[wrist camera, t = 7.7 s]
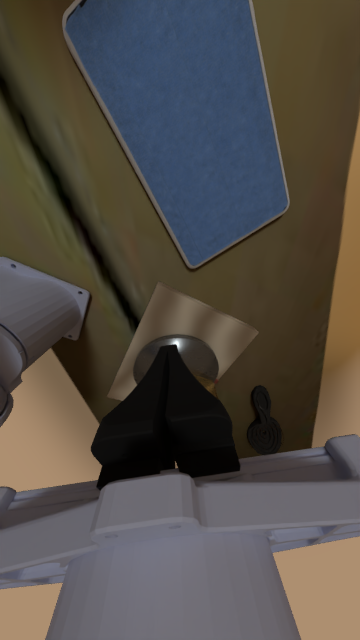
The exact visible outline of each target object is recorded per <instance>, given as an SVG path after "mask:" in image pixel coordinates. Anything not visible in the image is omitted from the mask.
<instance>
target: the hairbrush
mask: <svg viewBox="0 0 360 640" xmlns="http://www.w3.org/2000/svg"><path fill="white" fill-rule="evenodd" d="M263 393H264V394H263ZM264 395H265V396H264ZM252 398H253V403H254V405H255V407H256V409H257V411H258V413H259V417H260V420H256V421H254V422H252V423H251V424H252V425H251V424H250V425H251V426H249V428H248V431H247V436H248V439H249V442H250V444H251V445H252V447H253V448H254V449H255V450H256V451H257V453H259V454H262V455H270V454H277V453H276V452H277V451H278V450H279V448H280V444H282V443H281V432H282V430H281V428H280V425H279V424H278V422H277V421H276V420H274V418H271V417H270V408H271V400H270V397H269V394H268V391H267V390H266V388H264V387H263V386H261V385H259V386H256V387H255V388H254V391H253V390H252ZM256 400H257V401H256ZM257 403H258V404H257ZM258 405H259V406H258ZM259 407H260V408H261V409H260V408H259ZM261 410H262V411H263V412H264V414H265V416H264V414H263V412H262V411H261ZM270 418H271V419H270ZM274 424H275V425H276V427H275V425H274ZM270 426H271V427H272V429H271V427H270ZM267 428H268V429H267ZM263 430H265V432H262V431H263ZM268 430H269V431H268ZM259 432H260V433H259ZM263 433H264V434H263ZM256 434H257V436H256ZM282 434H283V433H282ZM252 436H253V437H252ZM253 438H254V439H253ZM283 439H284V438H283ZM283 441H284V440H283ZM283 443H284V442H283ZM282 445H283V444H282ZM262 455H261V456H262Z"/></svg>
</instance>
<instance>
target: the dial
mask: <svg viewBox="0 0 360 640" xmlns="http://www.w3.org/2000/svg"><path fill="white" fill-rule="evenodd" d="M172 344H176V345H177V348H178V351H179V354H180V356H181V358H182V359H183V361H184V363H185V364H186V366H187V368H188V369H189V370H190V372H191V373H192V374H193V375H194V377H195V378H196V379H197V380H198V381H199V382H200V383H201V384H202V385H203V386H204V387H205V388H206V389H207V390H208V391H209V392H210V393H211V394H212V395H214V396H215V397H216V398H217V399H218V396H217V393H216V390H215V387H214V382H215V380H216V378H217V376H218V371H219V364H218V360H217V358H216V355H215V353H214V351H213V350H212V348H211V347H210V346H209V345H208V344H207V343H205V342H204V341H202V340H201V339H198V338H196V337H193V336H189V335H183V334H172V335H166V336H162V337H159V338H157V339H155V340H153V341H151V342H149V343H148V344H147V345H145V346H144V347H143V348H142V349H141V350H140V352H139V353H138V355H137V357H136V360H135V363H134V367H133V376H134V380H135V382H136V384H137V385H138V383H139V382H140V381H141V380H142V378H143V377H144V375H145V374H146V372H147V371H148V369H149V368H150V366H151V364H152V363H153V361H154V359H155V357H156V355H157V353H158V351H159V348H160V347H161V346H165V345H172Z"/></svg>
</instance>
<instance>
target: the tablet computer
mask: <svg viewBox="0 0 360 640" xmlns="http://www.w3.org/2000/svg"><path fill="white" fill-rule="evenodd" d="M62 28H63V34H64V38H65V41H66V43H67V46H68V49H69V51H70V53H71V55H72V56H73V58H74V60H75V62H76V64H77V65H78V67H79V69H80V71H81V73H82V75H83V76H84V78H85V80H86V82H87V84H88V86H89V87H90V89H91V91H92V93H93V95H94V97H95V98H96V100H97V102H98V104H99V106H100V108H101V109H102V111H103V113H104V115H105V117H106V118H107V120H108V122H109V124H110V126H111V128H112V129H113V131H114V133H115V135H116V137H117V139H118V141H119V142H120V144H121V146H122V148H123V150H124V152H125V153H126V155H127V157H128V159H129V161H130V163H131V164H132V166H133V168H134V170H135V172H136V174H137V175H138V177H139V179H140V181H141V183H142V185H143V186H144V188H145V190H146V192H147V194H148V196H149V198H150V199H151V201H152V203H153V205H154V207H155V209H156V210H157V212H158V214H159V216H160V218H161V220H162V221H163V223H164V225H165V227H166V229H167V230H168V232H169V234H170V236H171V238H172V240H173V242H174V243H175V245H176V247H177V249H178V251H179V252H180V254H181V256H182V258H183V260H184V262H185V263H186V265H187V266H188V267H189V268H191V269H194V268H197V267H199V266H200V265H202V264H203V263H205V262H207V261H208V260H210V259H212V258H213V257H215V256H216V255H218V254H220V253H221V252H223V251H224V250H226V249H228V248H229V247H231V246H232V245H234V244H236V243H237V242H239V241H241V240H242V239H244V238H245V237H247V236H249V235H250V234H252V233H253V232H255V231H257V230H258V229H260V228H261V227H263V226H265V225H266V224H268V223H270V222H271V221H273V220H274V219H276V218H278V217H279V216H281V215H282V214H284V213H285V212H286V210H287V209H288V207H289V202H290V200H289V195H288V189H287V184H286V179H285V174H284V168H283V163H282V158H281V153H280V148H279V142H278V137H277V132H276V126H275V121H274V116H273V110H272V105H271V100H270V94H269V89H268V84H267V79H266V73H265V68H264V62H263V57H262V53H261V47H260V42H259V37H258V31H257V26H256V21H255V14H254V8H253V3H252V0H75V1H74V2H73V3H72V4H71V5H70V7H69V8H68V9H67V10H66V11H65V12H64V15H63V19H62Z"/></svg>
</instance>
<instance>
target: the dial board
mask: <svg viewBox="0 0 360 640" xmlns="http://www.w3.org/2000/svg"><path fill="white" fill-rule="evenodd" d="M258 333H259V332H258V331H257V330H256V329H255V328H254V327H252V326H250V325H248V324H246V323H244V322H242V321H240V320H238V319H236V318H234V317H231V316H229V315H227V314H225V313H223V312H221V311H219V310H217V309H215V308H213V307H211V306H209V305H207V304H205V303H203V302H201V301H199V300H196V299H194V298H192V297H190V296H188V295H186V294H184V293H182V292H180V291H178V290H176V289H174V288H172V287H170V286H168V285H166V284H164V283H161V282H159V281H158V283H157V285H156V288H155V290H154V292H153V294H152V296H151V299H150V301H149V303H148V305H147V308H146V310H145V312H144V314H143V317H142V319H141V321H140V323H139V326H138V328H137V330H136V332H135V335H134V337H133V339H132V341H131V344H130V346H129V348H128V350H127V352H126V355H125V357H124V359H123V361H122V364H121V366H120V368H119V370H118V373H117V375H116V377H115V379H114V382H113V384H112V386H111V388H110V391H109V393H108V396H107V397H109V398H113V399H117V400H122V401H123V400H124V399H125V398H126V397H127V396H128V395H129V394H130V393H131V392H132V391H133V389H134V388H135V387H136V386H137V384H136V382H135V380H134V376H133V367H134V363H135V360H136V357H137V355H138V353H139V352H140V350H141V349H142V348H143V347H144V346H145V345H147V344H148V343H149V342H151V341H153V340H155V339H157V338H159V337H162V336H166V335H172V334H183V335H189V336H193V337H196V338H198V339H201V340H202V341H204V342H205V343H207V344H208V345H209V346H210V347H211V348H212V350H213V351H214V353H215V355H216V358H217V360H218V364H219V371H218V376H217V378H216V380H215V382H214V384H215V383H217V382H218V380H219V379H220V377H221V376H222V375H223V374H224V373H225V371H226V370H227V369H228V368H229V367H230V366H231V364H232V363H233V362H234V361H235V360H236V359H237V357H238V356H239V355H240V354H241V353H242V352H243V350H244V349H245V348H246V347H247V346H248V345H249V343H250V342H251V341H252V340H253V339H254V337H255V336H256V335H257V334H258Z"/></svg>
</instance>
